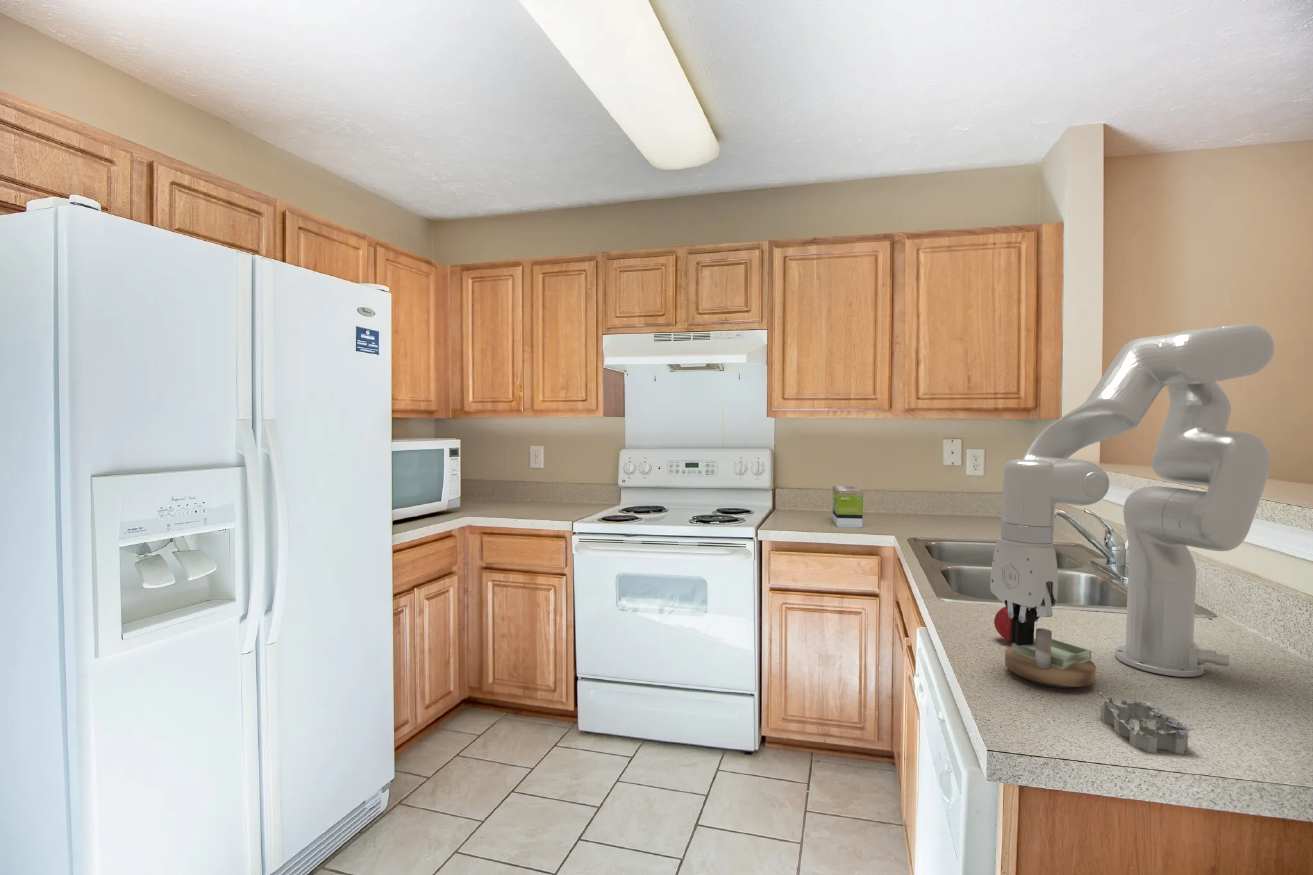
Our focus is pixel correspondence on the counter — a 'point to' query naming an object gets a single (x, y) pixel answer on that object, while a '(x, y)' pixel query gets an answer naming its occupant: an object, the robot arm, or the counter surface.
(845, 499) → the tea box
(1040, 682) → the turntable base
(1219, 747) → the counter surface
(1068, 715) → the counter surface
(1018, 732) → the counter surface
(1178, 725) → the egg carton
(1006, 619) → the onion
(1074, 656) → the disc
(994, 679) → the counter surface
